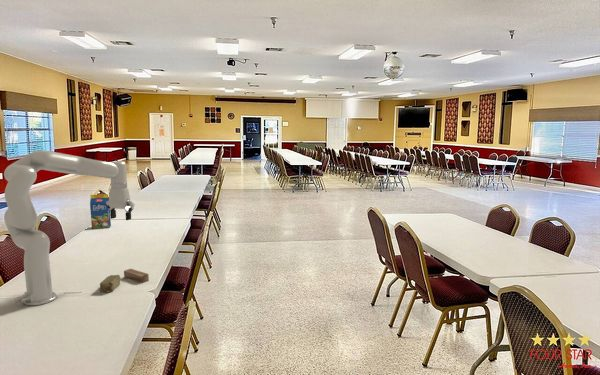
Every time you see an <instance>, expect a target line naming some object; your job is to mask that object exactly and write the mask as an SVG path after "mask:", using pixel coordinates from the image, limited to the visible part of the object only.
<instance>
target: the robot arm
mask: <svg viewBox="0 0 600 375" xmlns="http://www.w3.org/2000/svg"><path fill="white" fill-rule="evenodd" d="M41 170H42V171H43V170H44V171H49V172H57V173H63V174H69V175H78V176H90V177H98V178H105V179H110V184H109V185H110V188H109V193H108V199H109V200H108V201H107V202H106V204H107V207H108V208H109V211H110V220H112V219H116V218H117V211H116V209H118V210H125V213H124V214H125V221H130V220H132V212H133V210H134V208H135V205H136V204H135V203H134V202H133V201H132V200H131V195H130V190H129V188H128V178H127V175H128V174H127V163H126V162H125V161H121V160H119V161H118V160H114V161H111V162H110V161H109V162H108V161H102V160H97V159H92V158H86V157H83V156H78V155H72V154H68V153H67V154H66V153H63V152H55V151H51V150H34V151H32V152H31V153H29V154H27V155H25V156H24V157H21V158H20V159H18V160H17V161H14V162H12V163H11V164H9V165H8V166H7V167H6V168H5V170H4V173H3V176H4V179H5V180H6V181H7V184H6V187H5V190H4V199H5V202H6V205H7V209H6V211H5V212H4V216H3V220H4V224H5V226H6V228H7V231H8V234H9V236H10V238H11V239H12V242H13V243H14V244H15V246H17V247H18V248H20V249H23V251H24V255H23V268H24V269H23V270H24V279H25V285H26V286H25V288H26V291H24V292H23V294H22V295H21V296H17V297H15V298H14V299H13V300H14V302H15V303H19V302H21V303H23V304H24V305H25V306H40V305H45V304H47V303H50V302H52V301H54V300H56V298H57V297H58V294H57V292H53V283H52V273H51V272H52V271H51V265H50V264H51V263H50V249H51V248H50V247H51V240H50V237H49V236H48V234H46V233H45V232H44V231H42V230H39V229H35V227H36V226H37V225H38V223H39V218H38V214H37V212H36V209H35V207H34V205H33V202H32V199H31V196H30V190H31V187H32V186H33V184H34V183H35V182H36V180H37V179H38V178H37V176H38V175H37V173H38V172H39V171H41Z"/></svg>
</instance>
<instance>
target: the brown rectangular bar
mask: <svg viewBox="0 0 600 375" xmlns="http://www.w3.org/2000/svg"><path fill="white" fill-rule="evenodd" d="M123 278H125V279H128V280H132V281H134V282H137V283H140V284H143V283H146V282H149V281H150V280H149V279H150V277H149V273H146V272H143V271H140V270H137V269H133V268H128V269H125V270H123Z"/></svg>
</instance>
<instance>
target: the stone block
mask: <svg viewBox="0 0 600 375" xmlns="http://www.w3.org/2000/svg"><path fill="white" fill-rule="evenodd" d="M120 285H121V276H120V275H119V274H115V275H113V274H110V275H109V276H107V277H105V278H104V279H103V280H102V281H101V282H100V283H99V287H100V288H99V290H100V293H103V294H105V293H108V292H110V293H111V292H114V291H115V290H116V289H117V288H118V287H119V286H120Z"/></svg>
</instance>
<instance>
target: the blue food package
mask: <svg viewBox="0 0 600 375" xmlns="http://www.w3.org/2000/svg"><path fill="white" fill-rule="evenodd" d="M89 196H90V200H89V208H90V209H89V210H90V220H91V222H90V223H91V229H110V228H111V226H112V221H111V220H112V219H111V216H110V211H109V208H108V207H107V204H106V202H107V201H108V200H109V193H105V194H90V195H89Z"/></svg>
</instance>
